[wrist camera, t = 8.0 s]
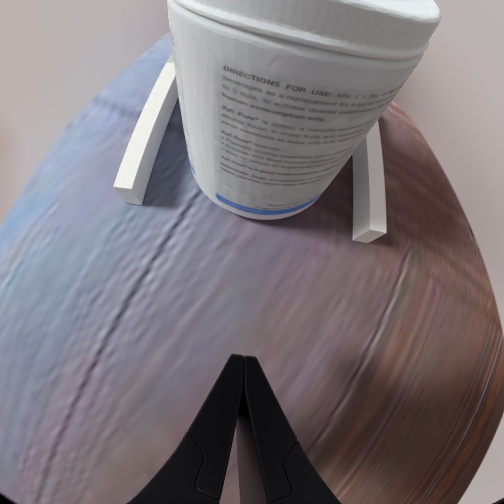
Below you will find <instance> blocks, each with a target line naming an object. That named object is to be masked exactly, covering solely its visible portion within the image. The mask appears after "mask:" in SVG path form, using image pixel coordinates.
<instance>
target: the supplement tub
mask: <svg viewBox="0 0 504 504" xmlns="http://www.w3.org/2000/svg"><path fill="white" fill-rule="evenodd" d="M167 3H168V16H169V26H170V35H171V44H172V52H173V59H174V67H175V74H176V81H177V89H178V95H179V102H180V109H181V115H182V121H183V127H184V133H185V138H186V144H187V150H188V156H189V161H190V166H191V170H192V173H193V175H194V178H195V180H196V182H197V183H198V185H199V187H200V188H201V189H202V190H203V192H204V193H205V194H206V195H207V196H208V197H209V198H210V199H211V200H212V201H213V202H215V203H216V204H218V205H219V206H221V207H222V208H224V209H226V210H228V211H230V212H233V213H235V214H238V215H240V216H244V217H247V218H252V219H260V220H274V219H281V218H285V217H289V216H292V215H295V214H297V213H299V212H301V211H303V210H305V209H306V208H308V207H309V206H311V205H312V204H313V203H314V202H315V201H316V200H317V199H318V198H319V197H320V196H321V194H322V193H323V192H324V191H325V190H326V188H327V187H328V186H329V184H330V183H331V182H332V180H333V179H334V178H335V177H336V175H337V174H338V173H339V171H340V170H341V169H342V167H343V166H344V165H345V163H346V162H347V161H348V159H349V158H350V157H351V155H352V154H353V153H354V151H355V150H356V149H357V147H358V146H359V145H360V143H361V142H362V141H363V139H364V138H365V137H366V135H367V134H368V133H369V131H370V130H371V128H372V127H373V126H374V124H375V123H376V122H377V120H378V119H379V118H380V116H381V115H382V113H383V112H384V111H385V109H386V108H387V107H388V105H389V104H390V102H391V101H392V100H393V98H394V97H395V96H396V94H397V93H398V91H399V90H400V89H401V87H402V86H403V84H404V83H405V81H406V80H407V79H408V77H409V76H410V74H411V73H412V71H413V70H414V68H415V67H416V66H417V64H418V63H419V61H420V60H421V58H422V56H423V53H424V51H425V50H426V49H427V47H428V44H429V38H430V37H431V35H432V34H433V32H434V31H435V29H436V28H437V26H438V24H439V22H440V20H441V13H440V10H439V8H438V6H437V5H436V3H435V2H434V1H433V0H167Z"/></svg>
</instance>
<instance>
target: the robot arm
mask: <svg viewBox="0 0 504 504" xmlns="http://www.w3.org/2000/svg"><path fill="white" fill-rule="evenodd" d="M235 427H236V434H237V453H238V471H239V488H240V503H241V504H341V503H340V501H339V500H338V499H337V498H336V497H335V495H334V494H333V493H332V492H331V490H330V489H329V488H328V486H327V485H326V484H325V482H324V481H323V480H322V478H321V477H320V476H319V474H318V473H317V472H316V470H315V469H314V467H313V466H312V464H311V463H310V461H309V460H308V458H307V456H306V454H305V453H304V451H303V449H302V447H301V445H300V443H299V442H298V441H296V440H297V438H296V436H295V434H294V432H293V430H292V428H291V426H290V424H289V422H288V420H287V418H286V417H285V415H284V413H283V411H282V409H281V407H280V405H279V403H278V401H277V399H276V397H275V395H274V393H273V390H272V388H271V386H270V384H269V382H268V380H267V378H266V376H265V374H264V372H263V370H262V368H261V366H260V364H259V362H258V359H257V358H256V357H254V356H244V357H243V355H238V354H231V355H230V357H229V359H228V361H227V362H226V364H225V366H224V368H223V370H222V371H221V373H220V375H219V377H218V379H217V380H216V382H215V384H214V386H213V388H212V389H211V391H210V393H209V395H208V396H207V398H206V400H205V402H204V403H203V405H202V407H201V409H200V410H199V412H198V414H197V416H196V417H195V419H194V421H193V422H192V424H191V426H190V428H189V429H188V432H186V434H185V436H184V437H183V439H182V441H181V442H180V444H179V445H178V447H177V449H176V450H175V452H174V453H173V454H172V455H171V457H170V458H169V459H168V461H167V462H166V463H165V464H164V466H163V467H162V468H161V469H160V470H159V471H158V473H157V474H156V475H155V476H154V477H153V478H152V479H151V481H150V482H149V483H148V484H147V485H146V486H145V487H144V488H143V489H142V490H141V491H140V492H139V493H138V494H137V495H136V496H135V497H134V498H133V499H132V500H131V501H129V502H128V503H127V504H219V502H220V501H219V500H220V498H221V493H222V489H223V484H224V480H225V475H226V470H227V466H228V461H229V456H230V451H231V447H232V442H233V437H234V432H235ZM0 504H18V503H16V502H15V501H13V500H12V499H10V498H9V497H7V496H6V495H4V494H3V493H1V492H0ZM493 504H504V498H502V499H500V500H498V501H497V502H495V503H493Z"/></svg>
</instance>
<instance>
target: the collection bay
mask: <svg viewBox="0 0 504 504" xmlns="http://www.w3.org/2000/svg"><path fill="white" fill-rule="evenodd" d="M178 96H179V95H178V89H177V81H176V74H175V67H174V59H173V54H171V55H170V57H169V59H168V61H167V63H166V64H165V66H164V68H163V70H162V72H161V74H160V76H159V78H158V80H157V82H156V84H155V86H154V88H153V90H152V92H151V94H150V96H149V98H148V100H147V102H146V104H145V107H144V109H143V111H142V113H141V116H140V118H139V120H138V122H137V125H136V127H135V130H134V132H133V134H132V137H131V139H130V142H129V144H128V147H127V150H126V152H125V155H124V158H123V160H122V163H121V166H120V169H119V171H118V174H117V177H116V180H115V183H114V186H113V187H114V188H115V190H116V191H117V193H118V194H119V195H120V197H121V198H122V199H123V201H124V202H125V203H129V204H136V205H142V202H143V199H144V195H145V192H146V188H147V185H148V181H149V178H150V175H151V172H152V168H153V165H154V162H155V159H156V156H157V153H158V150H159V147H160V144H161V141H162V139H163V136H164V133H165V130H166V127H167V125H168V122H169V119H170V117H171V114H172V112H173V109H174V106H175V104H176V101H177V99H178ZM352 159H353V239H352V240H353V241H358V242H364V243H369V242H371V241H373V240H375V239H377V238H378V237H380V236H382V235H384V234H386V199H385V182H384V169H383V158H382V148H381V140H380V132H379V124H378V120H377V122H376V123H375V124H374V126H373V127H372V128H371V130H370V131H369V133H368V134H367V135H366V137H365V138H364V139H363V141H362V142H361V143H360V145H359V146H358V147H357V149H356V150H355V151H354V153H353V154H352Z"/></svg>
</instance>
